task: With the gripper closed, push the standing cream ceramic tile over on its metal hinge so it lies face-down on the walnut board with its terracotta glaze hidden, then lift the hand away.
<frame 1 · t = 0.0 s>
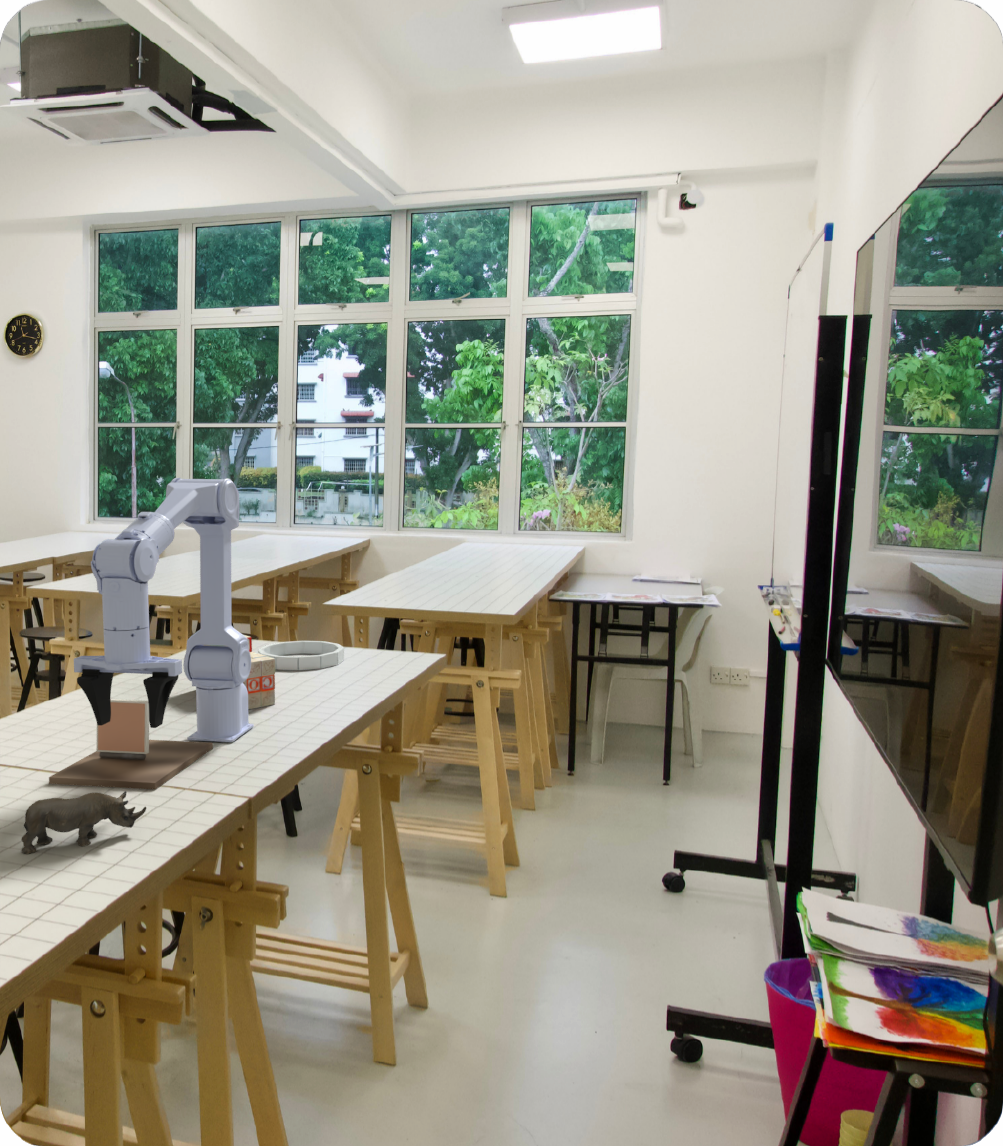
hand: (130, 724, 117), 10 cm above the table, fingers open, 7 cm apart
shell dish rim: (301, 660, 205), on the table
tile: (122, 726, 130), point 6 cm above the table, hinge at 85.0°
board: (136, 765, 130), on the table
rhino figurine: (86, 842, 104), on the table
stack of blocks: (235, 698, 171), on the table
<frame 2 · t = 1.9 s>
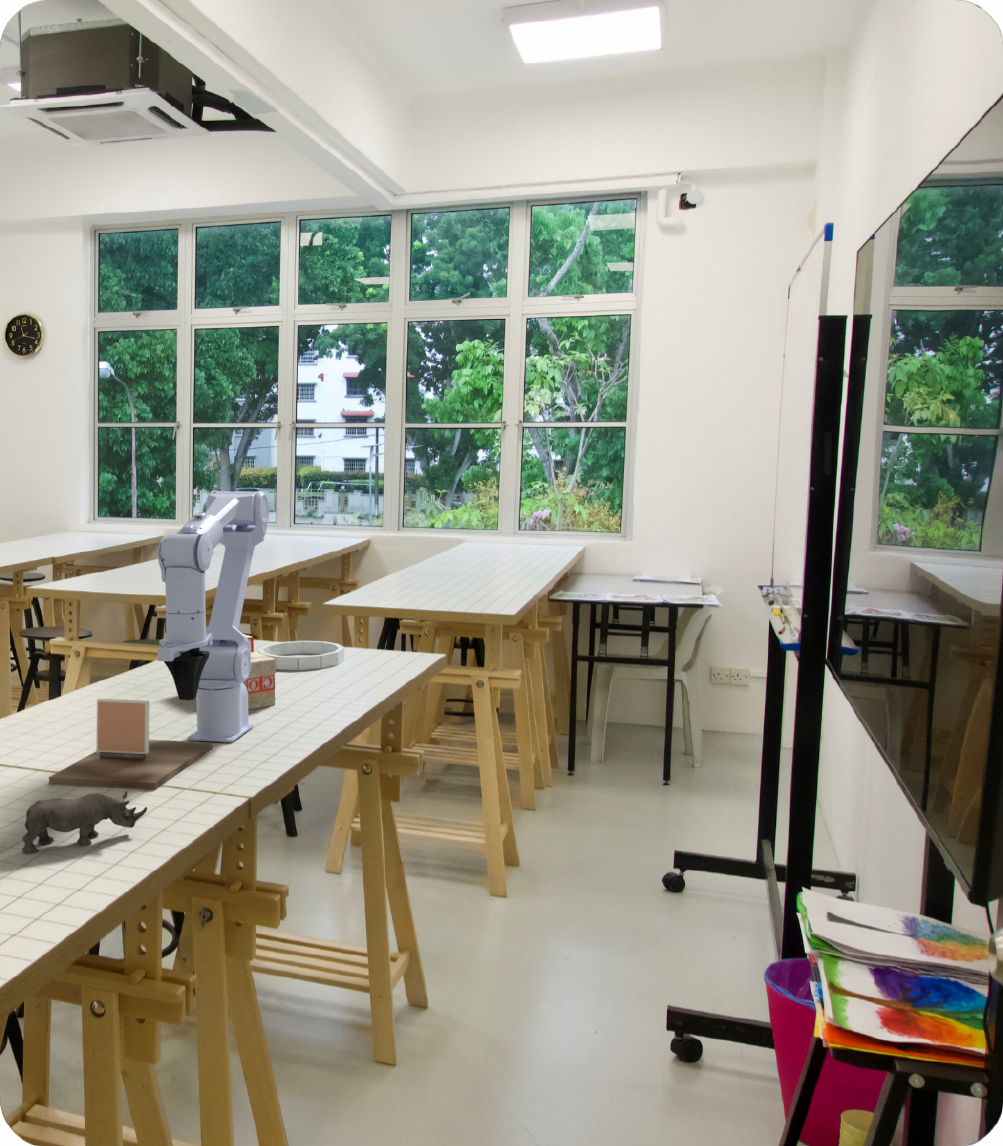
hand: (187, 699, 131), 10 cm above the table, fingers closed
nothing on the table moved.
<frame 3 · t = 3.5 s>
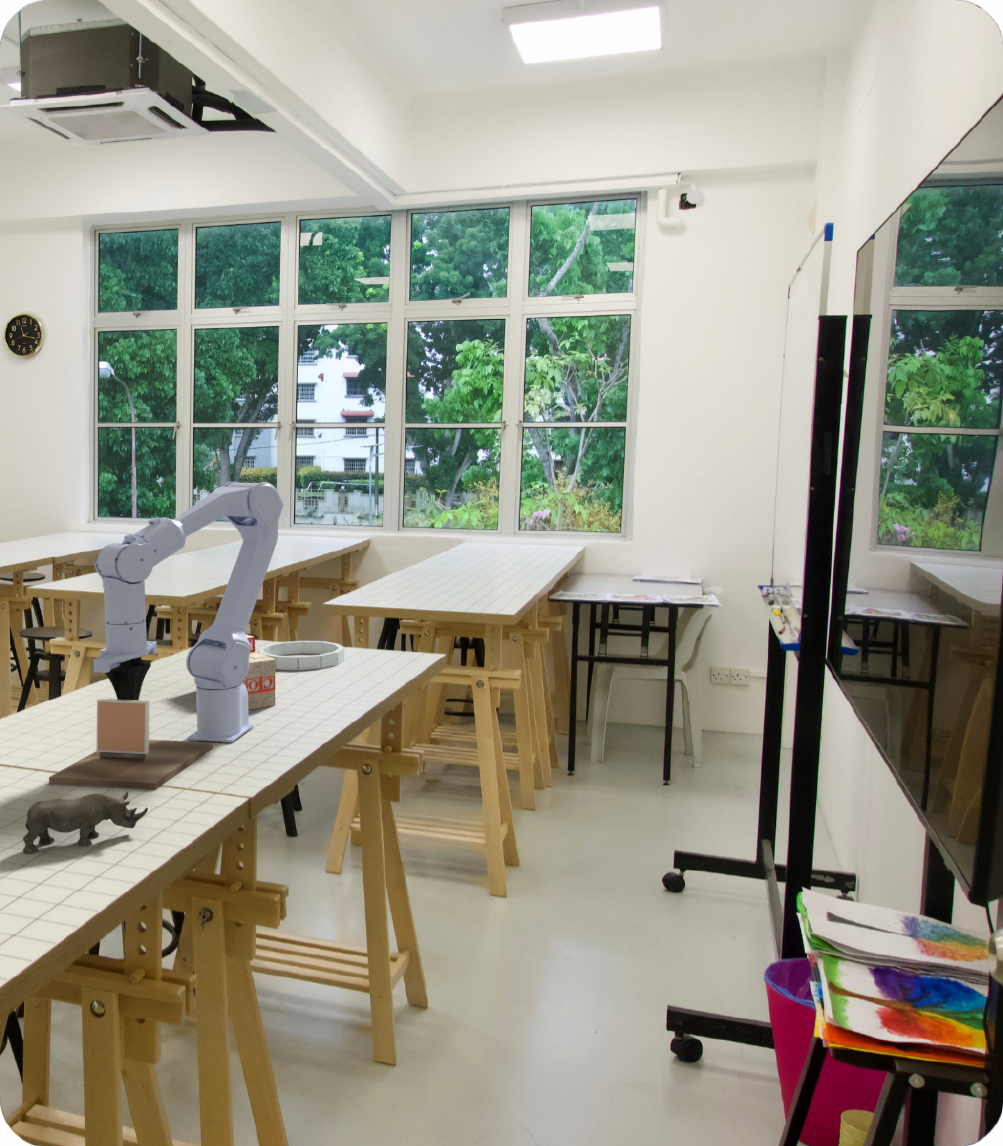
hand: (128, 708, 131), 8 cm above the table, fingers closed
tile: (122, 726, 130), point 6 cm above the table, hinge at 85.0°, touching gripper
everything else where it was.
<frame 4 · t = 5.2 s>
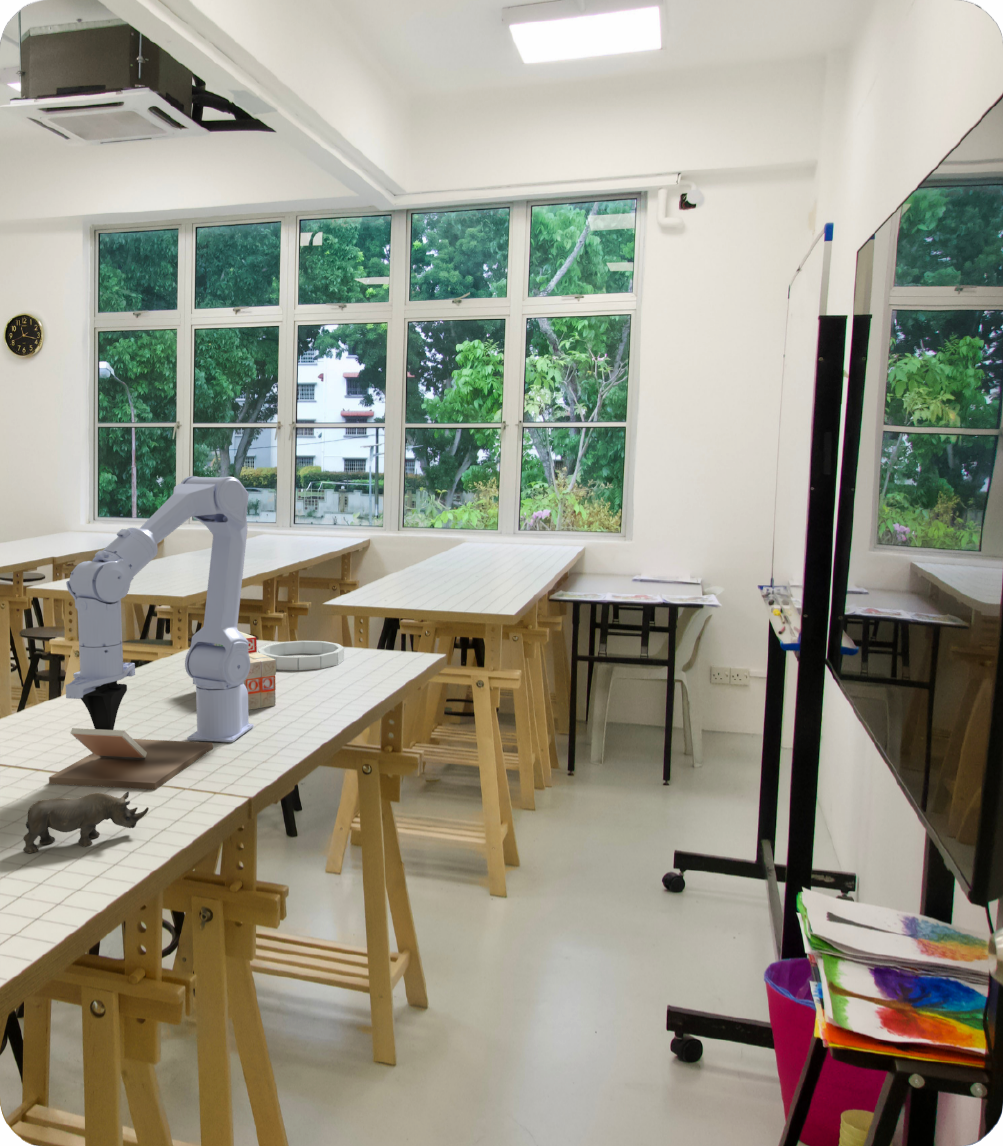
hand: (104, 734, 125), 6 cm above the table, fingers closed, pressing on tile
tile: (109, 743, 126), point 4 cm above the table, hinge at 138.5°, touching gripper
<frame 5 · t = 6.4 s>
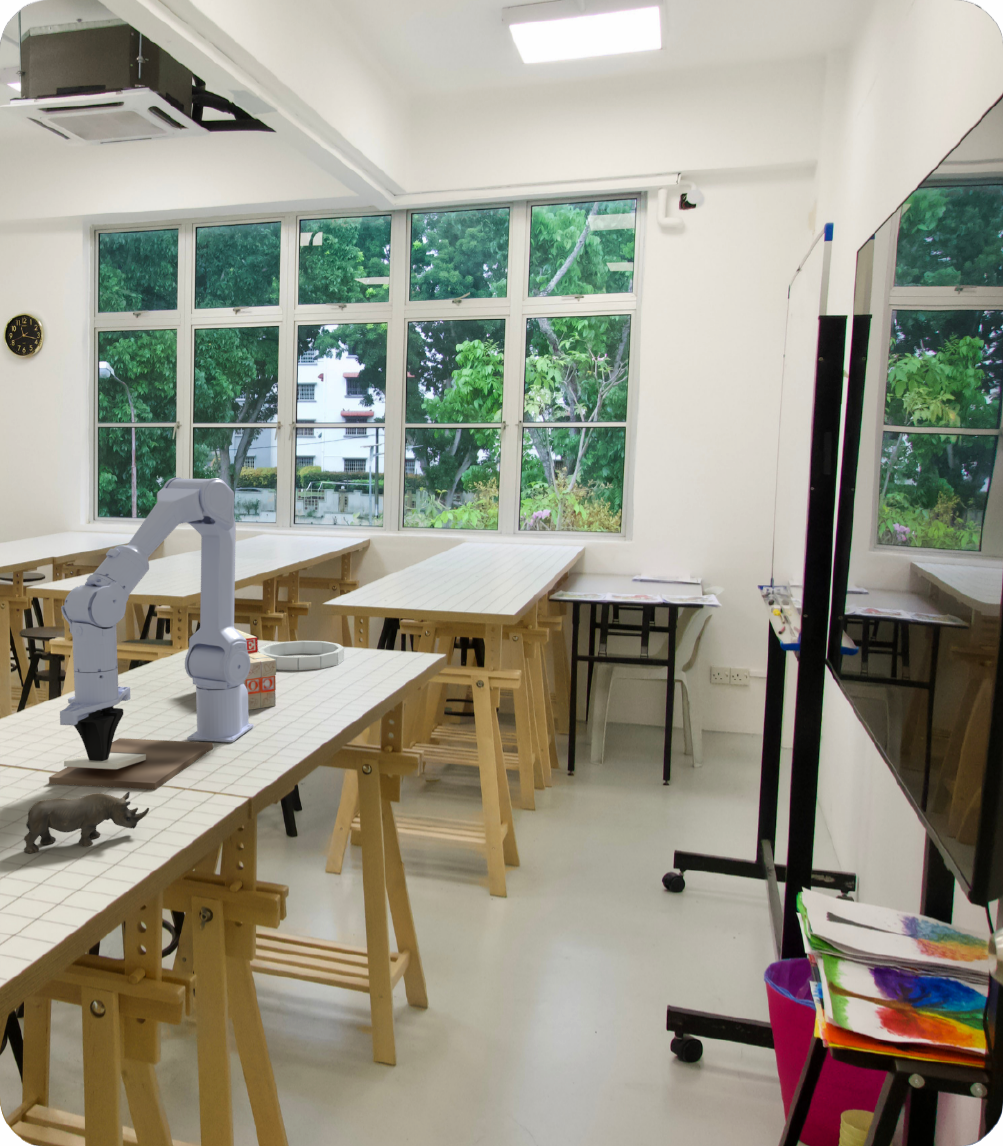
hand: (99, 760, 124), 3 cm above the table, fingers closed, pressing on tile
tile: (106, 760, 126), point 2 cm above the table, hinge at 170.7°, touching gripper
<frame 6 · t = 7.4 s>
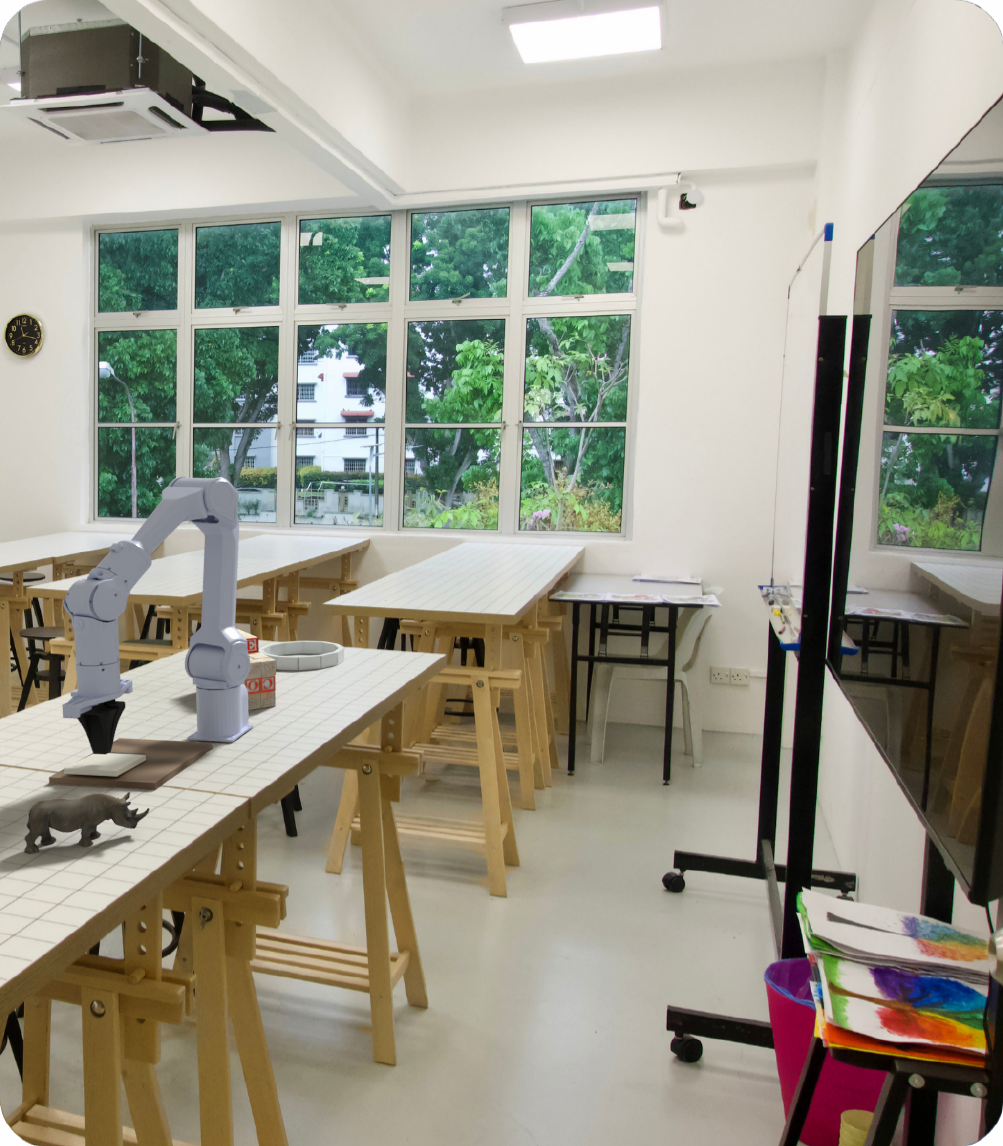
hand: (102, 752, 124), 4 cm above the table, fingers closed
tile: (106, 764, 126), point 2 cm above the table, hinge at 177.8°
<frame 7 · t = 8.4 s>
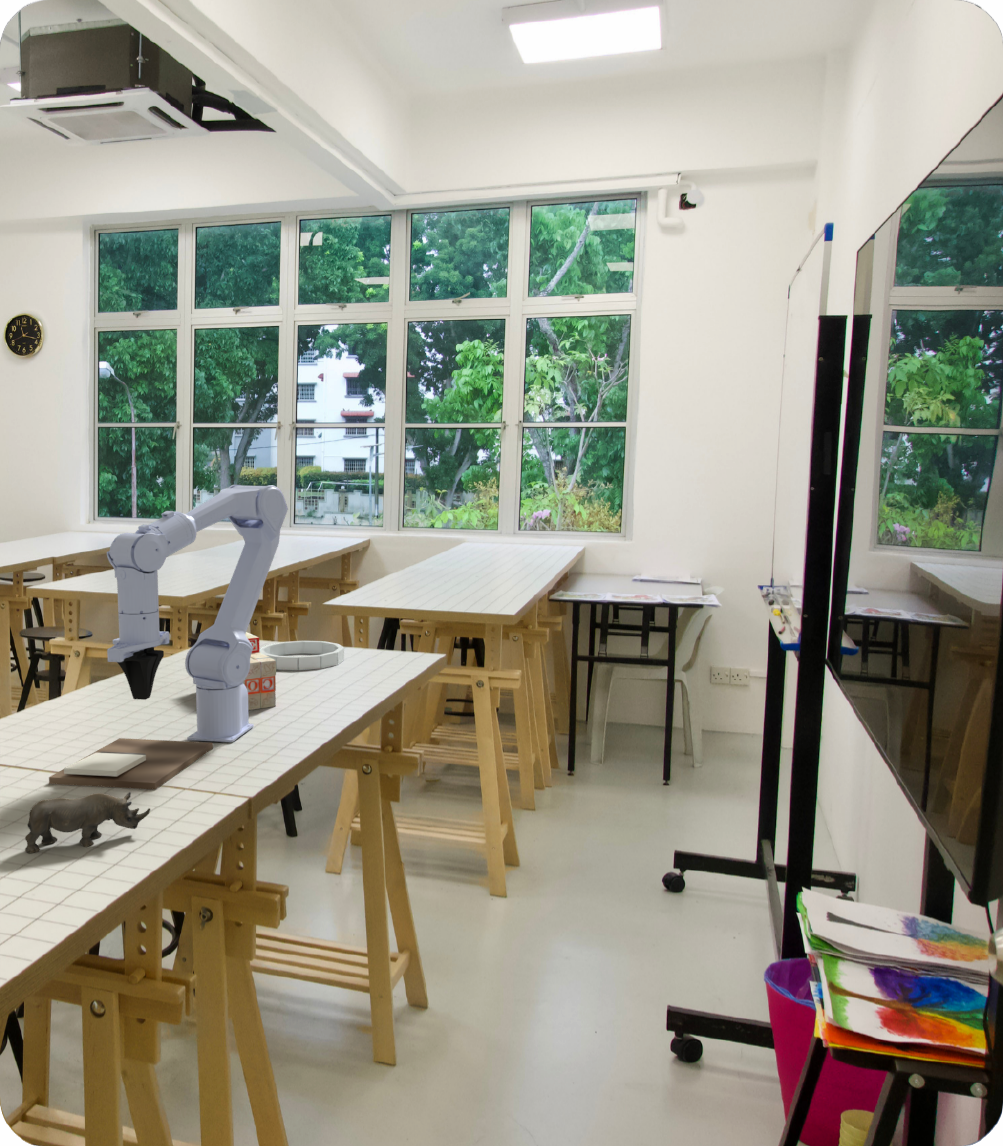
hand: (141, 698, 131), 10 cm above the table, fingers closed
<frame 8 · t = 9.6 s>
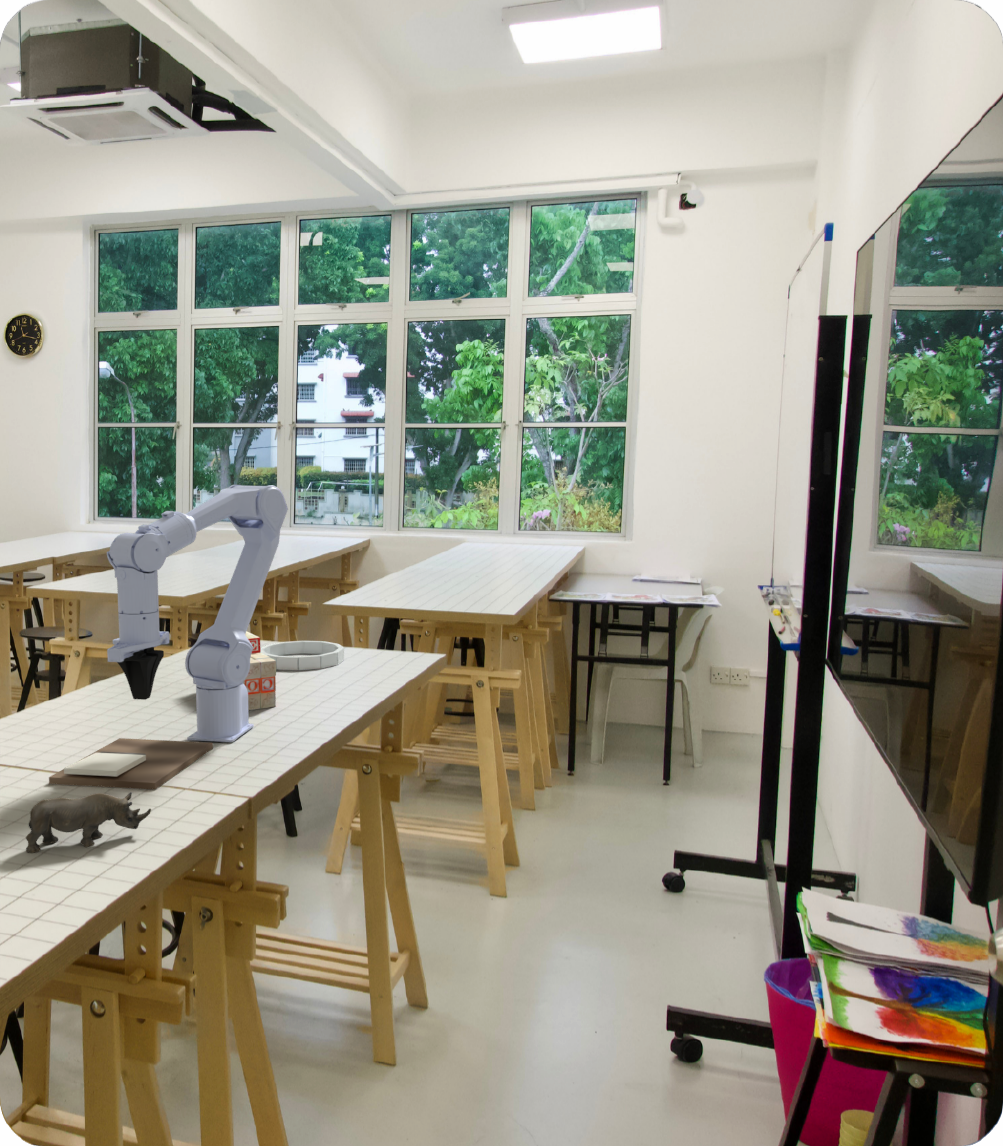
hand: (141, 698, 131), 10 cm above the table, fingers closed
at the end: tile at +178° (first picture: +85°) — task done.
